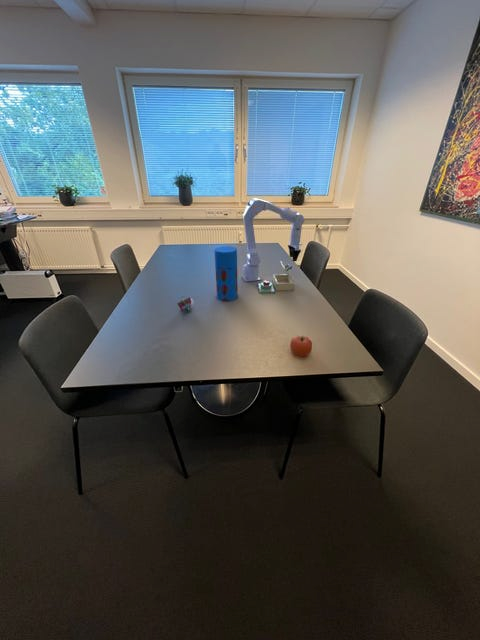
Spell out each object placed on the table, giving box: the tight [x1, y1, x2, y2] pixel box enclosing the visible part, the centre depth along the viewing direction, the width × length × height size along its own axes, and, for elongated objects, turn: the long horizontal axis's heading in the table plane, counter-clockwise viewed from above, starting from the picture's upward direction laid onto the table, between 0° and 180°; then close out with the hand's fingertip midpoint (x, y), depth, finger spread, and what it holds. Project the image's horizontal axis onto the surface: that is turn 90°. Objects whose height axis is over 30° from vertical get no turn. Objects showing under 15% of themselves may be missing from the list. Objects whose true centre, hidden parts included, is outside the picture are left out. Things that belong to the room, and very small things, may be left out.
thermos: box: [214, 245, 239, 302], centre depth 129 cm, size 11×11×25 cm
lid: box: [279, 260, 295, 284], centre depth 142 cm, size 10×13×4 cm
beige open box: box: [272, 273, 295, 291], centre depth 146 cm, size 9×13×4 cm
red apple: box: [289, 335, 313, 357], centre depth 93 cm, size 8×8×7 cm
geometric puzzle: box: [177, 296, 195, 312], centre depth 121 cm, size 7×7×8 cm
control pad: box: [257, 281, 276, 294], centre depth 143 cm, size 8×11×3 cm
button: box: [262, 279, 270, 285], centre depth 142 cm, size 3×3×2 cm
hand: (293, 259), depth 155 cm, fingers open, 7 cm apart
